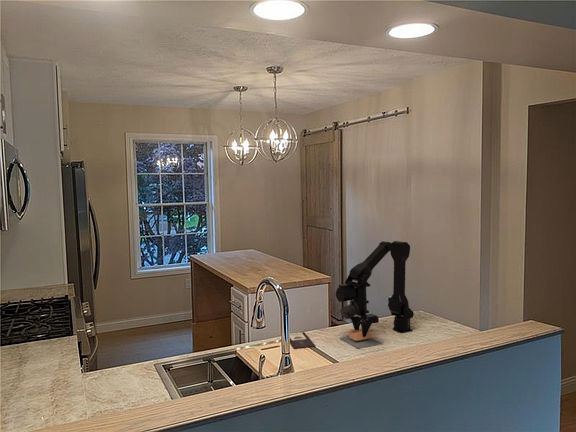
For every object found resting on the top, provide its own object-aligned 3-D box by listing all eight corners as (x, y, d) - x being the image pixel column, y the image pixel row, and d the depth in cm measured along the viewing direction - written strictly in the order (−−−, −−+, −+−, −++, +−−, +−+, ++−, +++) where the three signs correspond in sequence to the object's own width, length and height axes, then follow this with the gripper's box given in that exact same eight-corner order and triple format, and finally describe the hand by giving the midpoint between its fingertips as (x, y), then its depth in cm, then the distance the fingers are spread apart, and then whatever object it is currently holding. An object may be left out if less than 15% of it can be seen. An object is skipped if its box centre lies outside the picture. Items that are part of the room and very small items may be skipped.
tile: (349, 337, 188) (349, 331, 188) (365, 334, 191) (365, 328, 191) (355, 340, 183) (355, 334, 183) (372, 337, 186) (371, 331, 186)
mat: (363, 334, 196) (363, 333, 196) (382, 343, 183) (382, 342, 183) (339, 338, 191) (339, 337, 191) (357, 348, 178) (357, 347, 178)
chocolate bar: (293, 348, 180) (284, 334, 198) (294, 350, 180) (284, 336, 198) (315, 345, 182) (304, 332, 200) (315, 347, 182) (304, 334, 200)
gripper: (331, 295, 191) (332, 331, 192) (355, 305, 174) (356, 345, 175) (353, 292, 196) (354, 327, 197) (379, 301, 179) (379, 340, 180)
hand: (360, 335), depth 187 cm, fingers closed on tile, 5 cm apart
